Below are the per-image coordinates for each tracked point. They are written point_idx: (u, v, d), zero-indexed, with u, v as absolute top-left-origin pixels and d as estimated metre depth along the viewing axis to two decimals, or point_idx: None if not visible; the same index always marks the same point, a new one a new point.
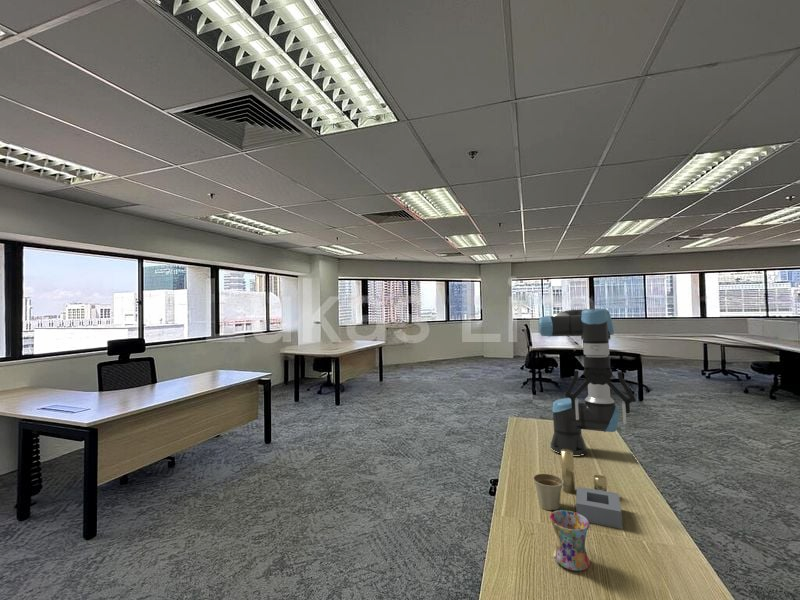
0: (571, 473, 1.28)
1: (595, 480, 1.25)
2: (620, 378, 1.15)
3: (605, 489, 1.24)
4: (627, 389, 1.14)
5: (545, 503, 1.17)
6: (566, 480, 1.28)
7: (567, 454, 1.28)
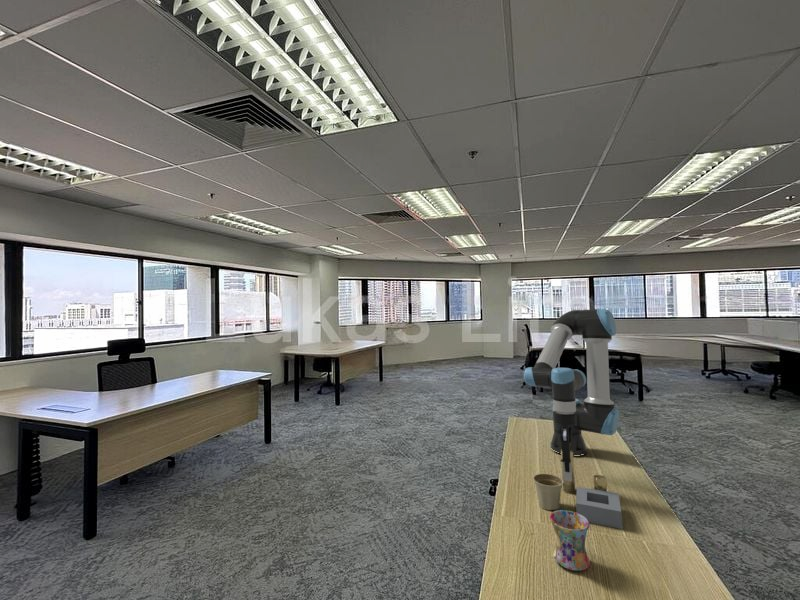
0: None
1: (595, 480, 1.25)
2: (561, 439, 1.26)
3: (605, 489, 1.24)
4: None
5: (545, 503, 1.17)
6: None
7: None
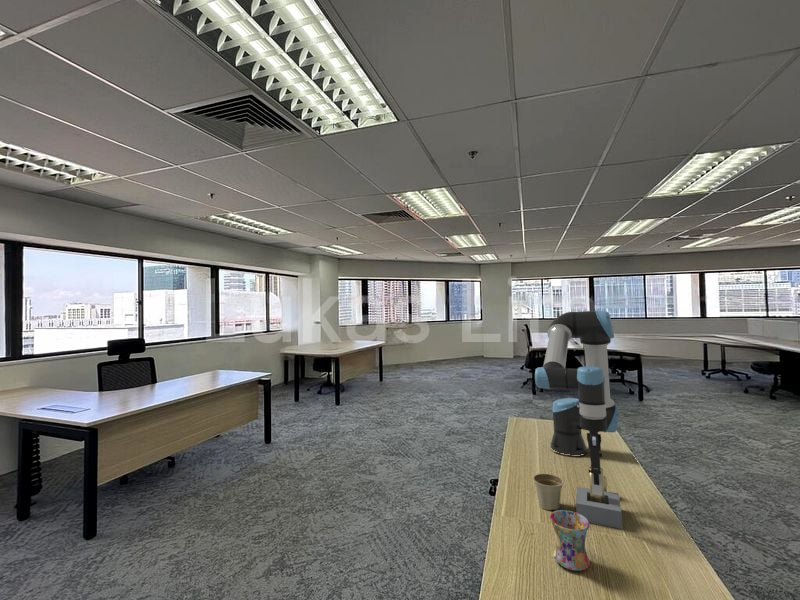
0: None
1: None
2: (589, 444, 1.10)
3: (605, 489, 1.24)
4: None
5: (545, 503, 1.17)
6: None
7: None
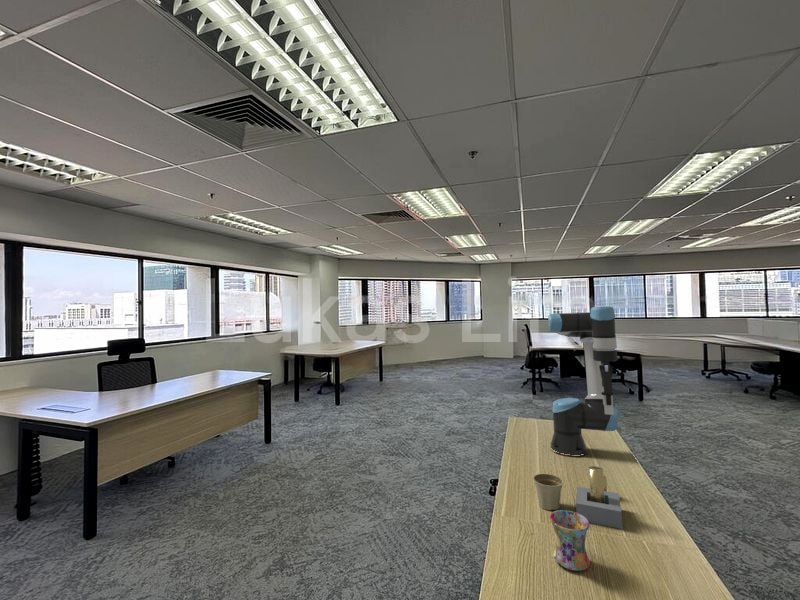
0: (601, 495, 1.12)
1: None
2: (602, 371, 1.24)
3: (605, 489, 1.24)
4: (603, 382, 1.23)
5: (545, 503, 1.17)
6: None
7: (596, 473, 1.13)
